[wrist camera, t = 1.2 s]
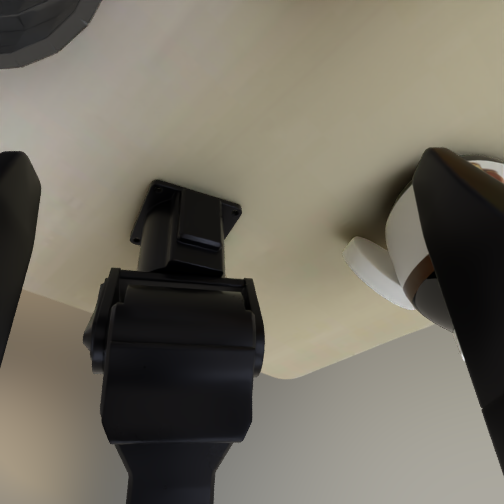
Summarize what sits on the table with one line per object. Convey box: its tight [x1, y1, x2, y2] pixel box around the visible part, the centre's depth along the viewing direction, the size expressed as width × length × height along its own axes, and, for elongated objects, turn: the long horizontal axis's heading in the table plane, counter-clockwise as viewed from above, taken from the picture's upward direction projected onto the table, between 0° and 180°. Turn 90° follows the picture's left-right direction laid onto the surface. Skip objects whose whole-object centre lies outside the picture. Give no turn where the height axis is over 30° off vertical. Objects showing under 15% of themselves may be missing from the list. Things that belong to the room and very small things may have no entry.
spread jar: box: [342, 155, 504, 361], centre depth 26 cm, size 12×11×12 cm
